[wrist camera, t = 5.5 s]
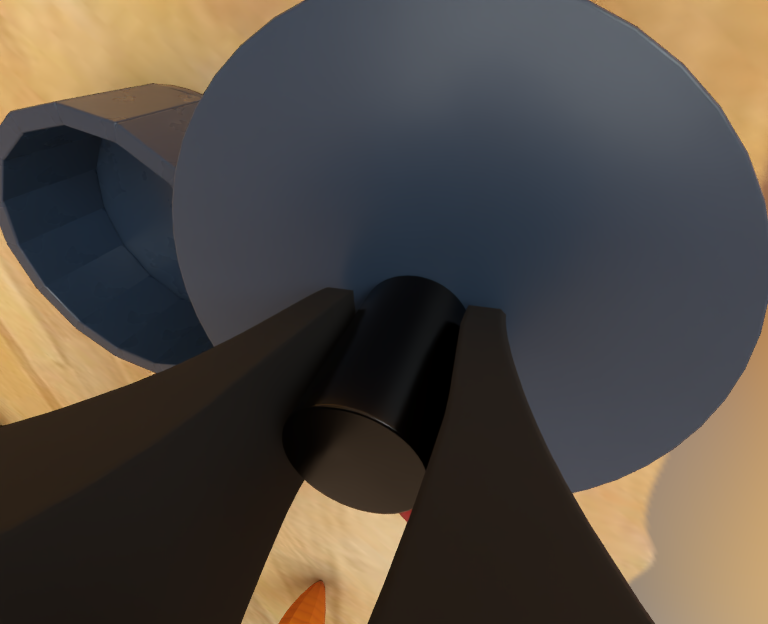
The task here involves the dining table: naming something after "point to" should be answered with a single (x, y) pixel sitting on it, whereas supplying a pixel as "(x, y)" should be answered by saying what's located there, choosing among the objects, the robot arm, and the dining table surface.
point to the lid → (476, 227)
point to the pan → (104, 217)
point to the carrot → (307, 607)
